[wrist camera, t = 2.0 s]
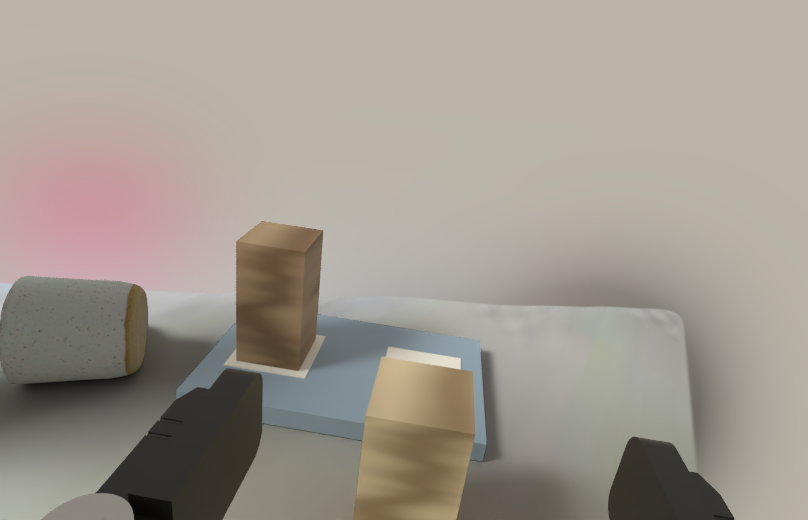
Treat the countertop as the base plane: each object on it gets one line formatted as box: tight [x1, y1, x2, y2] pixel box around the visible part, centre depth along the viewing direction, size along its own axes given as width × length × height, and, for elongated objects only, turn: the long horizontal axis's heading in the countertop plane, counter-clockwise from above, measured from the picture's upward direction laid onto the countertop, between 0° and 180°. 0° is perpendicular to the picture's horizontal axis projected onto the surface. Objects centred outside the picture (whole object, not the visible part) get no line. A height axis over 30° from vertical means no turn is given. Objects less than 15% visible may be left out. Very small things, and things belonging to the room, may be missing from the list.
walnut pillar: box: [236, 221, 323, 371], centre depth 40 cm, size 5×5×10 cm
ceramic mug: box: [0, 276, 148, 384], centre depth 39 cm, size 11×8×8 cm
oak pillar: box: [353, 357, 475, 520], centre depth 27 cm, size 5×5×10 cm
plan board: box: [176, 314, 487, 462], centre depth 42 cm, size 22×14×2 cm, turn 84°
